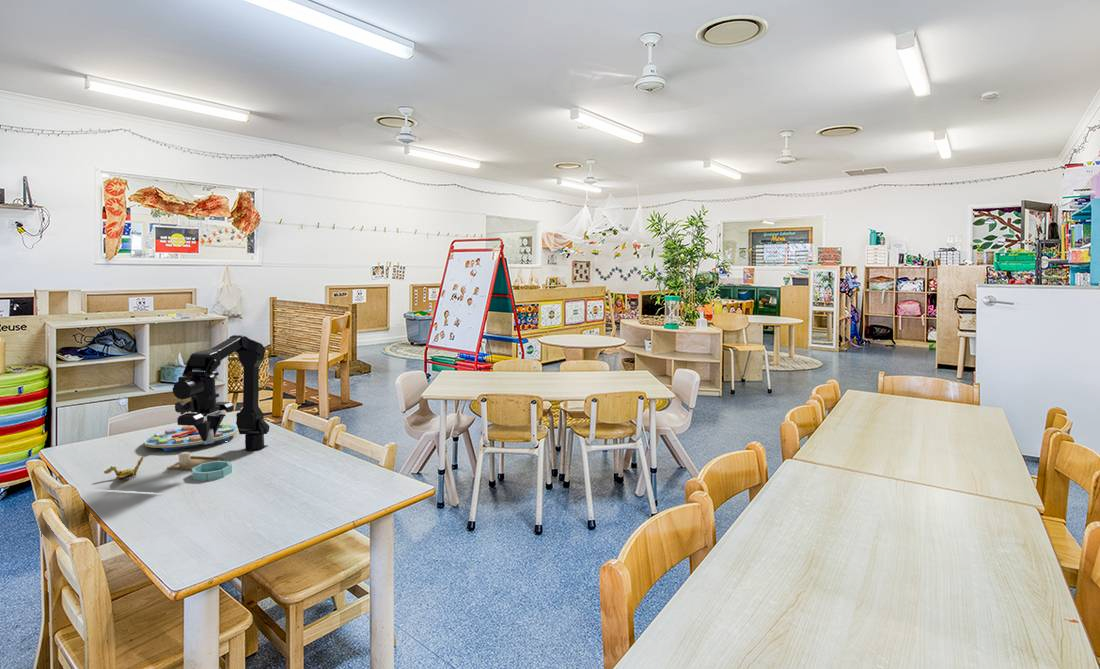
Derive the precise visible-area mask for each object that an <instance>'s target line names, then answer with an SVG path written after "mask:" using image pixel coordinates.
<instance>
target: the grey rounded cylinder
mask: <svg viewBox="0 0 1100 669" xmlns="http://www.w3.org/2000/svg"><path fill="white" fill-rule="evenodd" d="M202 442H203V444H205V445H209V444H210V445H211V444H215V443H214V432H213V428H209V432H208V437H207V440H206V441H203V440H202Z"/></svg>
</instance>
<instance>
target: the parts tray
mask: <svg viewBox="0 0 1100 669" xmlns="http://www.w3.org/2000/svg"><path fill="white" fill-rule="evenodd" d="M224 459H225V458H224V457H219V456H200V455H199V456H198V455H197V456H196V455H190V461H191V466H190V467H187V468H183V467H179V461H177V462H175V463H174V464H171V465H169V466H167V467H166V470H171V471H174V470H175V471H191V472H192V468H194V467H196V466H198V465H200V464H202V463H208V462H213V461H224Z"/></svg>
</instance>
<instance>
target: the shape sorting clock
mask: <svg viewBox="0 0 1100 669" xmlns="http://www.w3.org/2000/svg"><path fill="white" fill-rule="evenodd" d="M238 433H239V431H238V428H237V425H235V424H227V423H226V424H225V423H222V422H221V424H220V425H219V428H218V430H217V432H216V434H215V436H214V443H213V444H216V443H219V442H224V443H226V442H225V441H229V442H230V437H231V436H234V435H236V434H238ZM143 445H144V446H145V447H147V448H155V449H156V448H157V449H158V448H159V449H163V452H164V453H165V452H170V451H175V450H181V449H189V448H194V447H198V446H206V444H203V442H202V439H201V437H200V435H199V433H198V431H197V429H196V427H195V426H188V425H182V426H181V427H180V428H168V429H165V431H163V432H156V433H153V435H151V436H149V437H146V438H145V439H144V440H143Z"/></svg>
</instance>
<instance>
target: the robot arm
mask: <svg viewBox="0 0 1100 669" xmlns="http://www.w3.org/2000/svg"><path fill="white" fill-rule="evenodd" d="M234 353H236V354H237V356H238V361H239V363H240V364H241V366H242V368H243V370H242V371H243V374H242V375H243V380H242V382H243V383H242V384H243V385H242V387H243V388H242V389H243V390H242V391H243V392H242V408H241V409H240V411H239V412H237V413H236V415H235V416H236V421H235V424H236V426H237V428H238V433H239V434H238V435H244V445H245V447H244V448H243V449H241V451H244V452H259V451H262V450H264V449H265V448H267V447H269V444H266V445H265V436H264V435H267V434H268V433H269V431H270V425H269V424H268V423H267V421H265V420H264V413H263V411H262V409H261V408H260V407H259V394H260V393H259V392H260V391H259V388H260V386H259V385H260V384H259V383H260V382H259V379H260V378H259V377H260V366H261V364H262V363H263V362H264V360H265V354H266V347H265V346H264V345H263V344H262V343H261V342H259V341H256V340H253V339H250V338H249V337H247V336H246V335H241V334H240V335H239V334H238V335H235V334H234V335H231V336H228V338H227V339H226V340H224V341H222V342H220V343H218V344H217V345H215V346H213V347H212V348H210V349H206V350H200V351H197V352H192V353H191V354H190V356H189V358H188V360H187V363H186V364H185V367H184V369H183V372H182V375H181V376H178V377H177V378H178V381H176V382H175V383H174V385H173V388H172V393H173V395H174V396H175V397H176V398H177V399H179V400H181V401H178V402H176V403H174V410H175V413H177V414H178V413H180V415H179V416H178V417H177V418H176V422H177V425H178V426H195V427H196V429H197V431H198V433H199V435H200V437H201V439H202V440H203V441H206V440H207V437H208V432H209V428H213V432H214V436H215V434H216V432H217V430H218V428H219V425H220V424H221V423H222V422H223V420H224V418H225V417H226V414H225V413H222V411H225V412H226V413H231V412H233V411H234V410H235V409H234V404H233V403H232V402H230V401H217V398H219V397H220V393H217V392H216V391H217V390H216V377H217V376H220V374H219V372H218V371H217V370H216V369H217V368H219V366H221V363H222V360H224V359H225V358H227V357H229V356H231V355H232V354H234ZM189 398H190V400H189V401H187V402H185V401H184V400H187V399H189Z"/></svg>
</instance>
